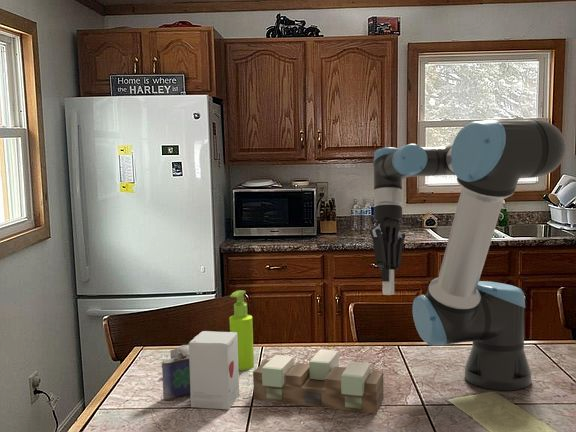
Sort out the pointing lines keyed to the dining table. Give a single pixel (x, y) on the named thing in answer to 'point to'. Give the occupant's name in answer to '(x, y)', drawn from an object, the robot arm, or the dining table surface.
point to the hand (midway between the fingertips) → (388, 294)
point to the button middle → (323, 363)
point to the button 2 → (355, 378)
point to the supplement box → (214, 370)
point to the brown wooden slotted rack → (320, 390)
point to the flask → (176, 377)
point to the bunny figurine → (174, 353)
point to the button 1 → (276, 370)
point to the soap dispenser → (242, 331)
